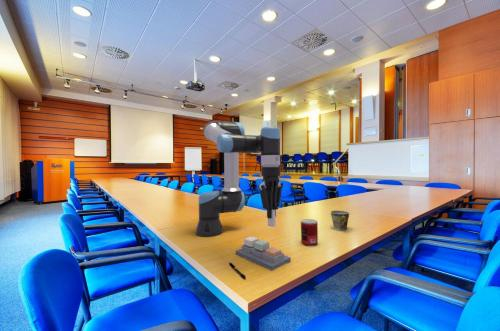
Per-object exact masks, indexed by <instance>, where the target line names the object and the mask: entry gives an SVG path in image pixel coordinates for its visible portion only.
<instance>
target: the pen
mask: <svg viewBox="0 0 500 331" xmlns="http://www.w3.org/2000/svg"><path fill="white" fill-rule="evenodd" d="M228 264H229V266H230V267H231V268H232V269H233V270H234V271H235V272H236V273H237V274H238V275H239V276H240V278H241V279H243V280H244V281H245V280H247V278H246V275H245V274H244V273H242V272H241V271H240V270H239V269H238V268H237V267H236V266H235V265H234V263H233V262H229V261H228Z"/></svg>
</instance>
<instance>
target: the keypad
mask: <svg viewBox="0 0 500 331" xmlns="http://www.w3.org/2000/svg"><path fill="white" fill-rule="evenodd" d="M235 255H237V256H240V257H242V258H243V259H245V260H247V261H250V262H252V263H255V264H256V265H259V266H261V267H263V268H266V269H268V270H270V271H274V270H277V269H278V268H280V267H282V266H284V265H286V264H288V263H290V262H291V256H287V255H285V253H284V252H282V251H281V254H280V255H278V256H275V257H272V256H269V255H267V254H265V250H264V251H260V250H257V249H255V248H254V246H253V247H249V246H247V245H244V243H243V244H241V247H240V248H239V249H237V250H235Z"/></svg>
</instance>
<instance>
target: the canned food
mask: <svg viewBox="0 0 500 331" xmlns="http://www.w3.org/2000/svg"><path fill="white" fill-rule="evenodd" d="M318 229H319V228H318V220H316V219H312V218H304V219H301V220H300V238H301V239H300V240H301V244H302V245H304V246H306V247H314V246H317V245H318V242H319V238H318V234H319V233H318V232H319V230H318Z"/></svg>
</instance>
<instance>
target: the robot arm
mask: <svg viewBox="0 0 500 331" xmlns="http://www.w3.org/2000/svg"><path fill="white" fill-rule="evenodd" d="M202 133H203V136H204V137H205V139H206V140H208V141H209V142H210V141H211V142H214V143H215V144H216V148H217V151H218V152H219V153H224V154H223V156H224V157H223V160H224V165H223V166H224V168H223V169H224V174H223V175H224V187H222V189H221V193H220V192H219V190H214V191H206V192H203V193H201V194H199V195H198V201H197V202H198V221H197V225H196V229H195V235H196V236H197V237H198V236H199V237H215V236H219V235H221V234H223V231H224V228H223V225H222V223H221V219H220V215H221V214H228V213H237V212H240V211H242V210H243V208H244V207H245V202H246V201H245V200H246V197H245V194H244V192H243V191H242V189H241V188H240V186H239V185H240V183H239V182H240V181H239V180H240V176H239V175H240V174H239V173H240V172H239V169H240V168H239V167H240V166H239V163H240V162H239V159H240V158H239V156H240V154H241V153H245V154H249V153H250V154H260V165H261V166H262V167H261V171H260V172H261V177H262V179H261V180H262V182H261V184H258V185H257V188H258V190H259V193H260V194H259V195H260V199H261V205H262V206H261V207H262V209H264V210H266V218H267V226H268V227H272V228H273V227H274V228H275V227H276V217H277V210H278V209H279V207H280V205H281V200H282V199H281V198H282V190H283V187H284V183H283V182H281V181H280V177H281V167H280V166H281V135H280V134H281V133H280V128H279V127H277V126H263V127H261V129H260V134H259V135H258V134H257V135H252V134H250V135H249V134H246V133H245V128H244V125H243V124H242V123H241V122H238V121H231V120H230V121H227V120H212V121H209V122H207V123H206V124H205V125H204V127H203V130H202ZM239 153H240V154H239Z"/></svg>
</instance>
